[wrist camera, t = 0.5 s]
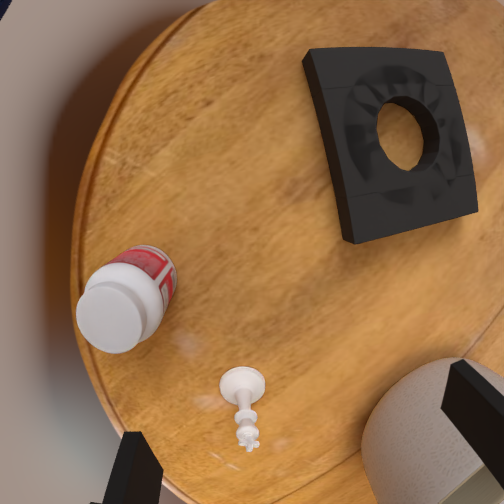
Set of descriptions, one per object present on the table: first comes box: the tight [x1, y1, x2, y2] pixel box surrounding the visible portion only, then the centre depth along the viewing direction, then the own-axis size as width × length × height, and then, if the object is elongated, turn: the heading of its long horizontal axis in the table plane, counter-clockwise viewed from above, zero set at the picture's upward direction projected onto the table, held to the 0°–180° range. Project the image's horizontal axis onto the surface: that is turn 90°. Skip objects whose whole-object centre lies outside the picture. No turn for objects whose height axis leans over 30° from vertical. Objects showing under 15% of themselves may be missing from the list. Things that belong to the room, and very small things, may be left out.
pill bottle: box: [76, 245, 177, 354], centre depth 23 cm, size 6×6×11 cm
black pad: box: [302, 47, 478, 245], centre depth 27 cm, size 18×16×3 cm
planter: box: [361, 357, 504, 504], centre depth 26 cm, size 21×21×19 cm
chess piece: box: [219, 366, 265, 452], centre depth 27 cm, size 5×5×10 cm
